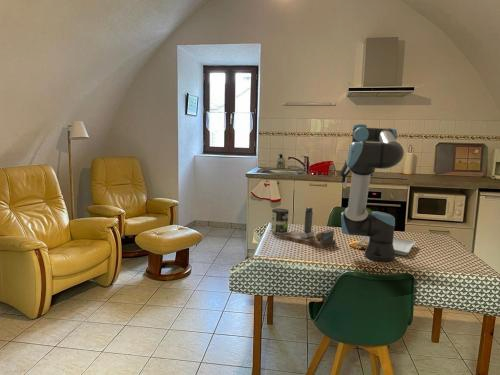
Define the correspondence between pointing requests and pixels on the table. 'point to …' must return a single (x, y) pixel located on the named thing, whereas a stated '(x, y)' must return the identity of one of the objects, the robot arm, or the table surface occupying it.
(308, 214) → the press carriage
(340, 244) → the table surface
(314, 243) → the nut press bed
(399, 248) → the square plate
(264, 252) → the table surface
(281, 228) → the coffee can
